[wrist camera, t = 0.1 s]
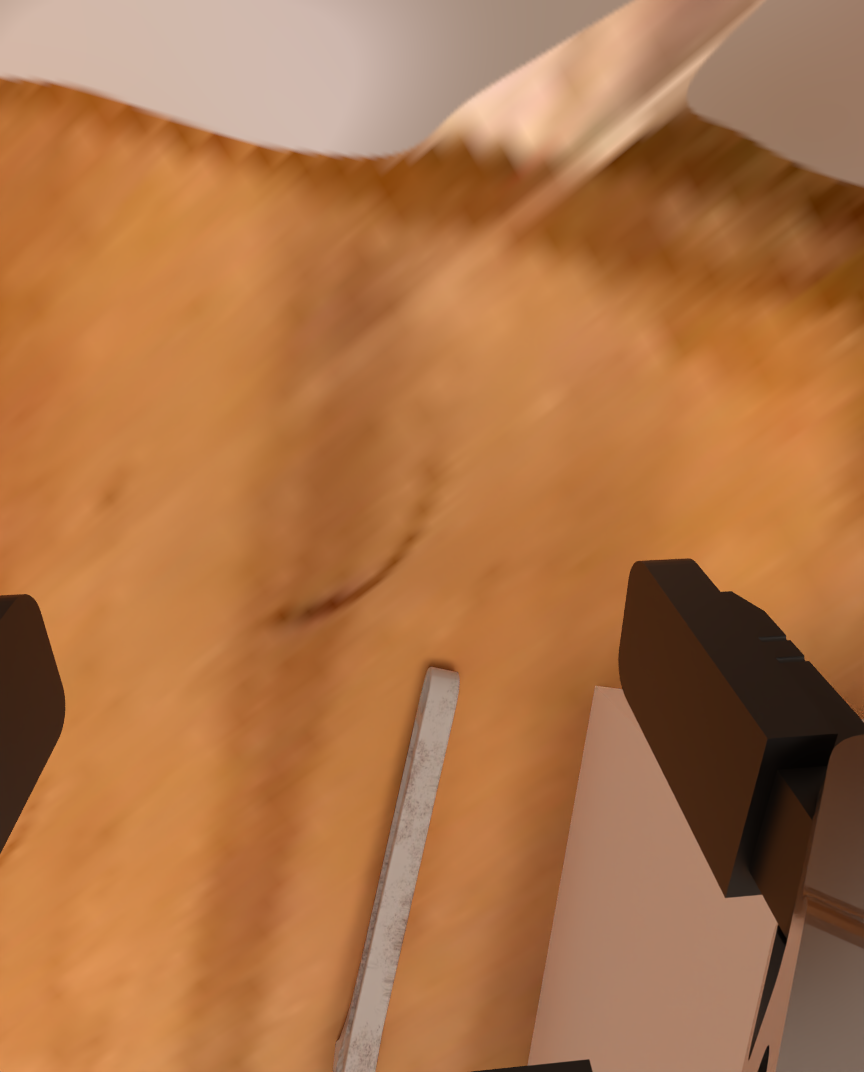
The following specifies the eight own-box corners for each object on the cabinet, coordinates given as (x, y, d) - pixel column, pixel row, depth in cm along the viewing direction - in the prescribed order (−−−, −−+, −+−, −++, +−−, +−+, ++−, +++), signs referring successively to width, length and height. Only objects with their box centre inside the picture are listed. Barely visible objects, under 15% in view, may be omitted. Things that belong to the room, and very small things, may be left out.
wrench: (450, 661, 46) (341, 1143, 45) (421, 654, 46) (311, 1139, 45) (471, 686, 38) (339, 1274, 37) (436, 679, 38) (303, 1269, 37)
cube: (840, 1089, 49) (1307, 1717, 24) (524, 1066, 47) (693, 1730, 22) (921, 724, 46) (1527, 1021, 22) (593, 683, 44) (864, 961, 20)
